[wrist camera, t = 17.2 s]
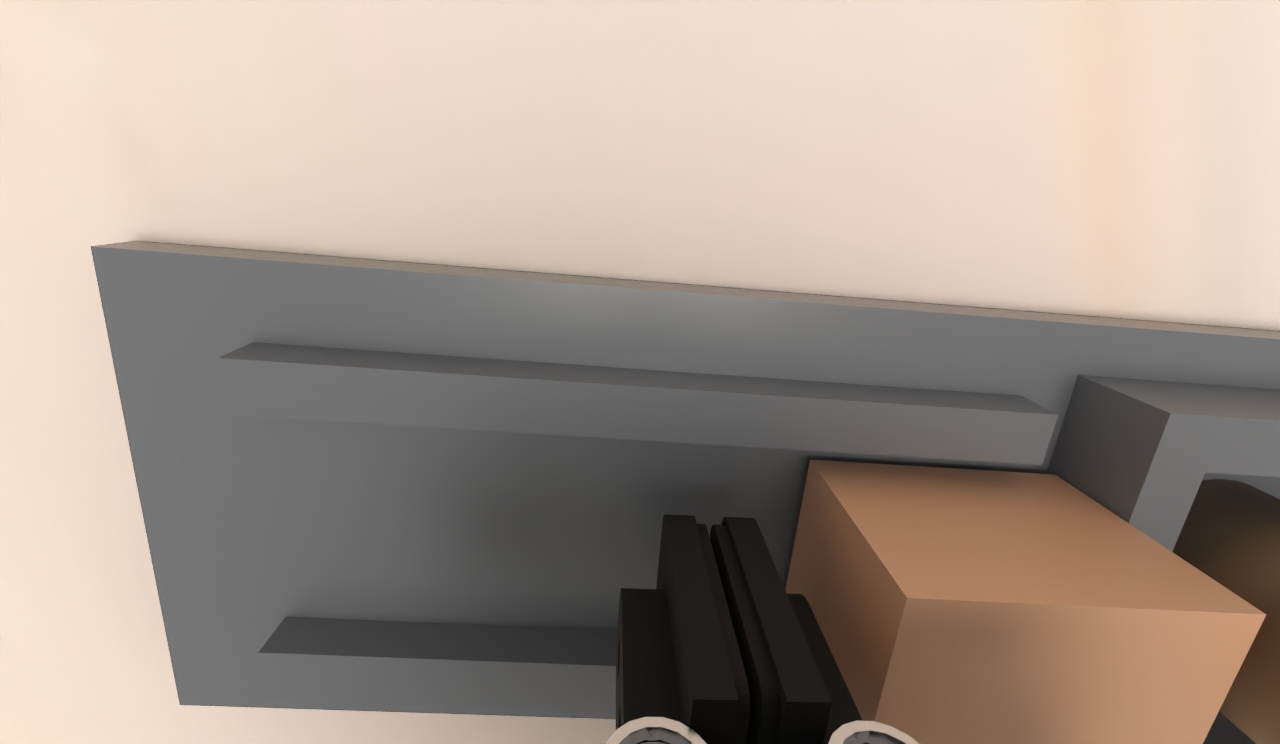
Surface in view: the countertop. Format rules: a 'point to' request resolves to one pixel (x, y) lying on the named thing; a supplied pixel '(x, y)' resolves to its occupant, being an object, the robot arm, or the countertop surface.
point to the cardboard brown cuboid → (1010, 610)
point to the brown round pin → (1243, 589)
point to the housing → (579, 451)
